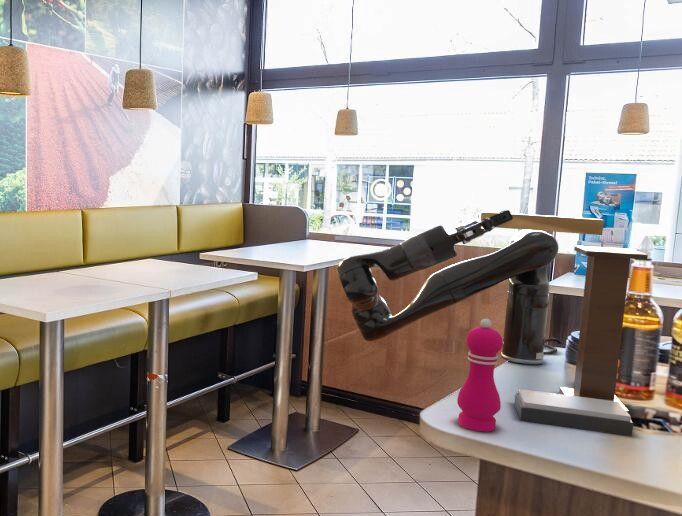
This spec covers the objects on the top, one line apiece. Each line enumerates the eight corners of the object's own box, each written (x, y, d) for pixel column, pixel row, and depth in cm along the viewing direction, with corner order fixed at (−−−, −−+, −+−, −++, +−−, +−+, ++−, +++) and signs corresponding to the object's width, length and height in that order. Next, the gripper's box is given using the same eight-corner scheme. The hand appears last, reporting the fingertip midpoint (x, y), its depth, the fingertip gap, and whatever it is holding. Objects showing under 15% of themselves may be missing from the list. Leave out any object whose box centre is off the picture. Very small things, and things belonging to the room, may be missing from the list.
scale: (514, 404, 141) (515, 387, 140) (617, 418, 135) (619, 401, 134) (520, 420, 132) (522, 402, 131) (632, 436, 125) (634, 417, 125)
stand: (558, 393, 149) (574, 245, 146) (613, 400, 146) (630, 248, 142) (569, 410, 138) (586, 250, 135) (628, 418, 135) (647, 254, 131)
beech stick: (478, 225, 147) (480, 211, 147) (598, 234, 139) (600, 219, 139) (479, 226, 145) (481, 211, 144) (602, 235, 137) (604, 219, 136)
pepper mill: (461, 415, 133) (471, 313, 131) (502, 425, 128) (513, 319, 126) (450, 425, 127) (459, 318, 125) (492, 436, 123) (503, 325, 121)
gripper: (436, 261, 156) (514, 228, 150) (436, 268, 143) (522, 232, 137) (421, 230, 157) (498, 196, 150) (420, 235, 144) (505, 198, 137)
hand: (509, 213), depth 144 cm, fingers closed on beech stick, 3 cm apart
